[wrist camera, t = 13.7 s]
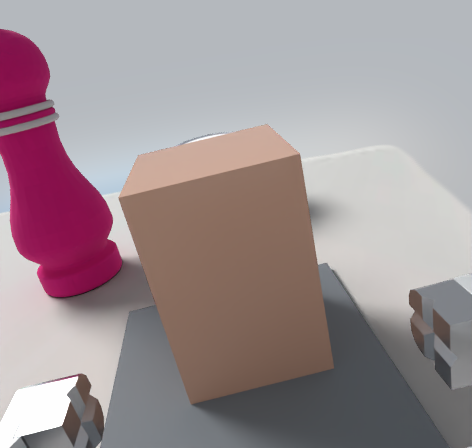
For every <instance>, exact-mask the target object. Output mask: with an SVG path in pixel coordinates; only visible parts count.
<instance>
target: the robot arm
mask: <svg viewBox="0 0 472 448" xmlns="http://www.w3.org/2000/svg"><path fill="white" fill-rule="evenodd" d="M409 305H410V306H411V307H412V308H413V309H414V310H415V312H414V314H413V316H412V317H411V319H410V321H411V331H412V334H413V337H414V340H415V342H416V344H417V346H418V348H419V349H420V351H421V352H422V353H423V355H424V356H425V357H427V358H429V359H432V360H434V361H435V370H436V371H437V372H438V374H439V375H440V376H441V377H442V379H443V380H444V381H445V382H446V384H447V385H448V386H449V387H450V389H451V390H454V389H459V388H463V387H467V386H472V274H466V275H462V276H459V277H455V278H452V279H450V280H447V281H443V282H440V283H436V284H432V285H428V286H424V287H420V288H416V289H413V290H410V293H409ZM90 389H91V384H90V382H89V380H88V378H87V376H86V375H84V374H77V375H73V376H68V377H64V378H60V379H55V380H51V381H47V382H43V383H39V384H35V385H31V386H27V387H23V388H21V389H19V390H18V391H17V392H16V393H15V395H14V397H13V399H12V401H11V403H10V405H9V407H8V409H7V411H6V413H5V415H4V417H3V419H2V421H1V423H0V448H96V446H97V445H98V444H99V443H100V442H101V440H102V437H103V432H104V416H103V412H102V408H101V405H100V403H99V401H98V399H96V398H94V397H93V396H91V395H89V392H90ZM467 448H472V446H471V447H467Z"/></svg>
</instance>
